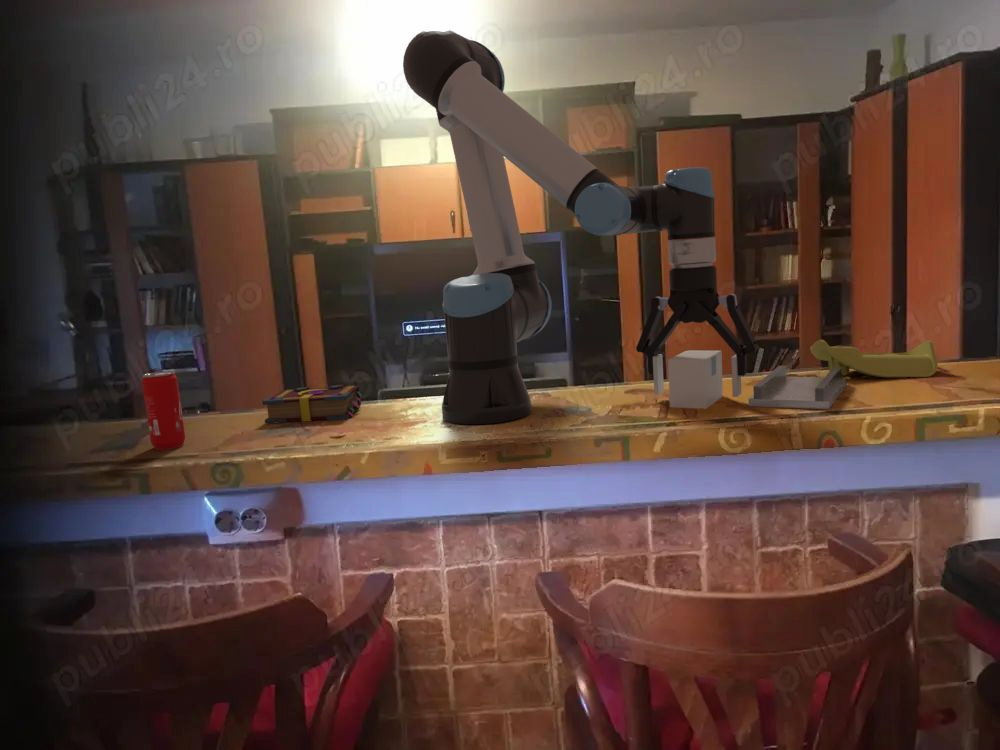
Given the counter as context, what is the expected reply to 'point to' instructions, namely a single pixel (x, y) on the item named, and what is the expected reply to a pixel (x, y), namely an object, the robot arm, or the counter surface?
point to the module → (695, 379)
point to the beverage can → (163, 410)
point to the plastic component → (879, 360)
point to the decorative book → (313, 404)
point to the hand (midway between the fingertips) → (697, 394)
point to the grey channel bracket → (798, 390)
